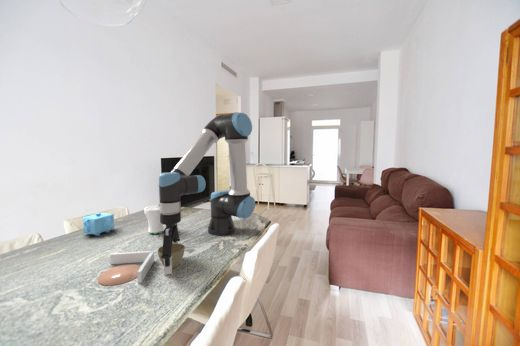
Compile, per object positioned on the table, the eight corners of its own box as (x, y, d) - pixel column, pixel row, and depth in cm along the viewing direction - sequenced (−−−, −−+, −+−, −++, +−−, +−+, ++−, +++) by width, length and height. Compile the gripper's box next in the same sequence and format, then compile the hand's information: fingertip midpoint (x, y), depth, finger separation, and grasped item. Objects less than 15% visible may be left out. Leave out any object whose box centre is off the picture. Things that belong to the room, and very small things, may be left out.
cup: (167, 228, 136) (166, 204, 134) (166, 234, 125) (165, 209, 124) (146, 230, 132) (145, 206, 131) (143, 237, 122) (142, 210, 120)
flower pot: (190, 261, 94) (189, 245, 94) (173, 274, 85) (173, 255, 84) (170, 258, 98) (169, 241, 97) (152, 269, 88) (151, 251, 88)
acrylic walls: (154, 259, 96) (154, 250, 96) (141, 282, 79) (140, 271, 79) (112, 262, 93) (111, 253, 93) (88, 287, 76) (88, 275, 76)
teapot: (96, 239, 117) (94, 218, 116) (72, 235, 124) (71, 214, 123) (123, 230, 132) (122, 210, 131) (101, 226, 138) (100, 208, 137)
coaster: (147, 263, 92) (147, 262, 92) (134, 283, 79) (134, 282, 79) (108, 266, 90) (108, 265, 90) (89, 287, 76) (89, 286, 76)
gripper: (167, 205, 101) (168, 252, 103) (150, 222, 76) (153, 283, 78) (184, 204, 102) (185, 251, 104) (174, 221, 78) (176, 281, 80)
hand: (171, 264), depth 91 cm, fingers open, 13 cm apart
